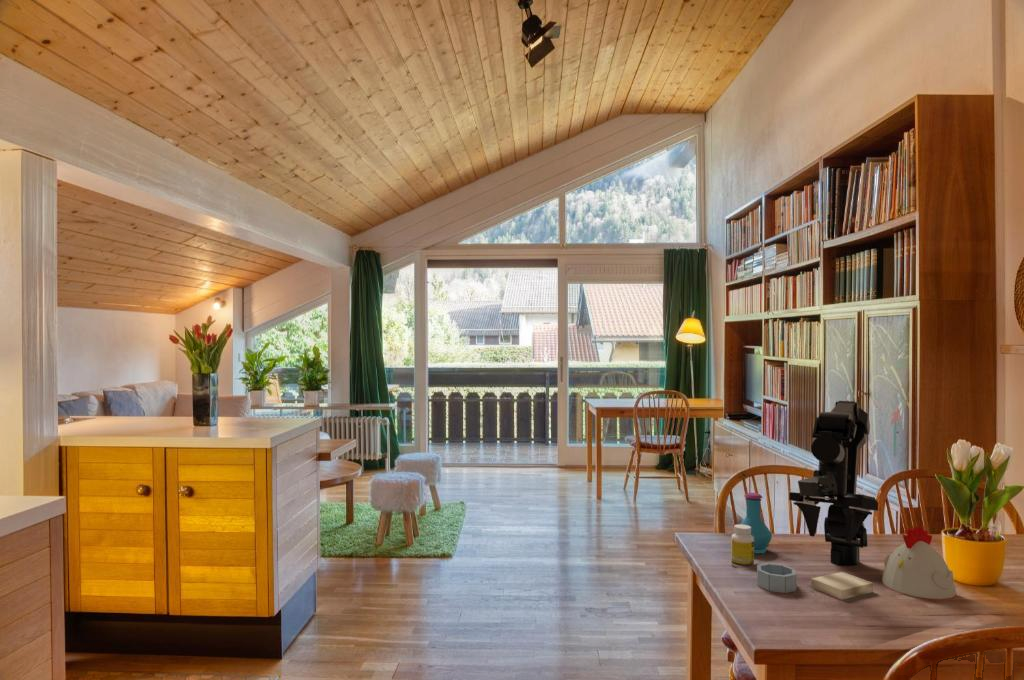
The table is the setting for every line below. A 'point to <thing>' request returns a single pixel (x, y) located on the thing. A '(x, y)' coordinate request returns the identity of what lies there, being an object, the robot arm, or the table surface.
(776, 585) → the bowl
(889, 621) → the table surface
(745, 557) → the supplement bottle
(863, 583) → the cover board
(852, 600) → the mat
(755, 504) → the teal vase
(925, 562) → the white ceramic hen
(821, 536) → the table surface
